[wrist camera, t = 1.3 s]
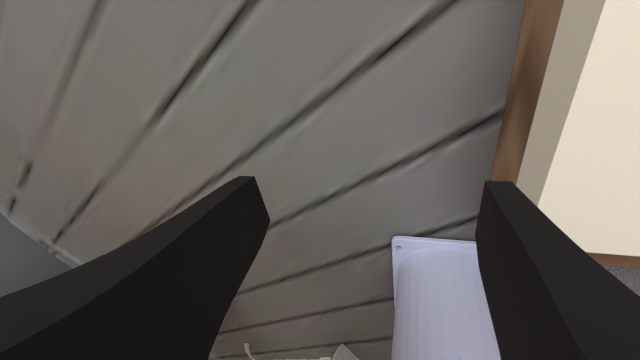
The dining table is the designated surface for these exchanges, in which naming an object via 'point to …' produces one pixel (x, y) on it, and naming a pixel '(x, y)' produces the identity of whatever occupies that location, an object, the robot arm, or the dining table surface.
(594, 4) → the tile
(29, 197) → the dining table surface
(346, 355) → the eyeglasses
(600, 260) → the brown wooden block
